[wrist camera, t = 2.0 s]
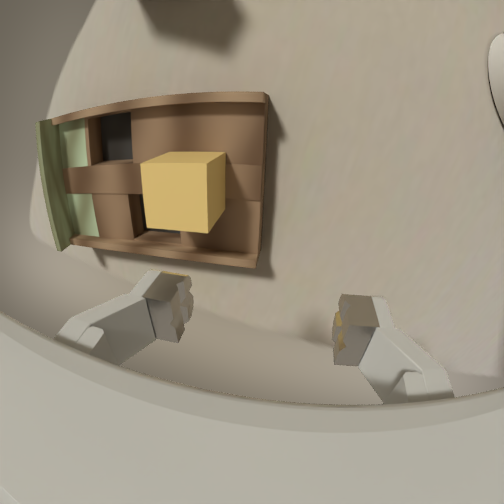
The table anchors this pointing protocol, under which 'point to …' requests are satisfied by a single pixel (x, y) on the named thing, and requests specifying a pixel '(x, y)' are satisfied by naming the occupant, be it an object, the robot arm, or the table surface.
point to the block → (184, 190)
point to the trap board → (129, 173)
